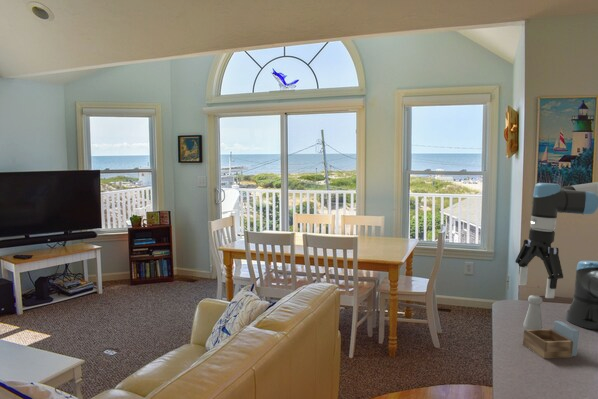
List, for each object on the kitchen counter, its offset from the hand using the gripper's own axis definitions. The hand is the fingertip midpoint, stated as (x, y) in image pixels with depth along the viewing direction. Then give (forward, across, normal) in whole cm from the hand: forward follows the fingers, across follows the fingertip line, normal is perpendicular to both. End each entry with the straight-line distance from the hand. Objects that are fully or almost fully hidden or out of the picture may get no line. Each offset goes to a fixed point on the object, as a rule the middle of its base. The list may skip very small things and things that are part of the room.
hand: (535, 291), depth 154 cm
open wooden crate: (+15, +14, -5) cm, 21 cm away
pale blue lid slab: (+15, +14, +2) cm, 20 cm away
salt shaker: (+15, 0, 0) cm, 15 cm away
